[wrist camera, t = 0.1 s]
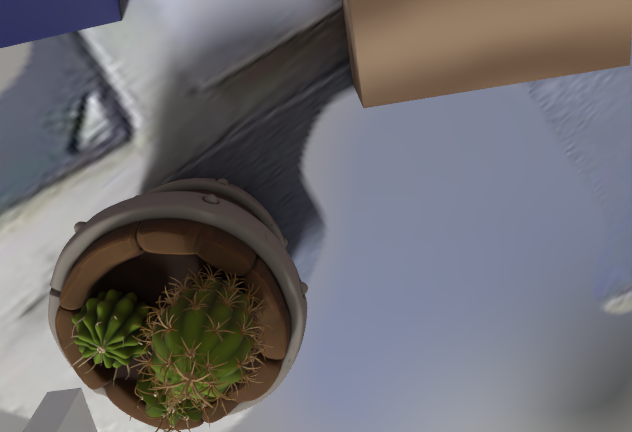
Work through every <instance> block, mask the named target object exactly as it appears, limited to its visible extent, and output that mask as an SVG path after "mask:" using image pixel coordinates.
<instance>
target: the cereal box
mask: <svg viewBox="0 0 632 432" xmlns="http://www.w3.org/2000/svg"><path fill="white" fill-rule="evenodd" d="M121 20H122V17H121V10H120V3H119V0H0V48H3V47H8V46H12V45H17V44H21V43H25V42H30V41H34V40H38V39H43V38H47V37H52V36H56V35H60V34H65V33H69V32H73V31H78V30H82V29H86V28H91V27H95V26H100V25H104V24H108V23H113V22H117V21H121Z"/></svg>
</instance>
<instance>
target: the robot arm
mask: <svg viewBox="0 0 632 432" xmlns="http://www.w3.org/2000/svg"><path fill="white" fill-rule="evenodd" d="M23 432H97V430H96V427H95V424H94V421H93V419H92V416H91V413H90V411H89V408H88V405H87V403H86V400H85V397H84V395H83V392H82V389H81V388H76V389H68V390H60V391H52V392H47V394H46V395H45V397H44V399H43V400H42V402H41V403H40V405H39V407H38V408H37V410H36V411H35V413H34V414H33V416H32V418H31V419H30V421H29V422H28V424H27V426H26V427H25V429H24V430H23Z"/></svg>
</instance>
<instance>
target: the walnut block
mask: <svg viewBox="0 0 632 432" xmlns="http://www.w3.org/2000/svg"><path fill="white" fill-rule="evenodd" d="M342 6H343V14H344V21H345V29H346V36H347V44H348V51H349V59H350V66H351V74H352V81H353V85H354V87H355V90H356V92H357V94H358V96H359V99H360V101H361V103H362V106H363V108H367V107H373V106H379V105H385V104H392V103H398V102H404V101H410V100H416V99H422V98H429V97H435V96H441V95H448V94H454V93H459V92H466V91H472V90H479V89H485V88H491V87H497V86H503V85H510V84H516V83H522V82H528V81H534V80H541V79H547V78H553V77H559V76H565V75H572V74H578V73H584V72H590V71H596V70H603V69H609V68H615V67H621V66H627V65H630V54H631V34H632V0H342Z"/></svg>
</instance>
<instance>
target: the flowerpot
mask: <svg viewBox="0 0 632 432" xmlns="http://www.w3.org/2000/svg"><path fill="white" fill-rule="evenodd" d="M74 229H75V232H76V233H75V234H74V236H73V237H72V238H71V239H70V240H69V241H68V242H67V244H66V245H65V247H64V249H63V250H62V252H61V254H60V256H59V258H58V261H57V263H56V266H55V269H54V272H53V276H52V279H51V282H50V286H51V287H52V288H51V290H50V298H49V311H48V319H49V325H50V329H51V332H52V334H53V336H54V339H55V341H56V343H57V345H58V346H59V348H60V350H61V352H62V354H63V355H64V357H65V358H66V360H67V361H68V362H69V364H70V365H71V366H72V367H73V369H74V370H75V371H76V373H77V374H78V376H79V377H80V378H81V379H82V381H83V382H84V383H85V384H86V385H87V386H88V387H89V388H91V389H92V390H93V391H94V392H95V393H97V394H101V395H104V396H106V397H108V398H109V399H110V400H111V401H112V403H113V404H114V405H116V406H117V407H118V408H119V409H121V410H122V411H124V412H125V413H126V414H128V415H130V416H131V417H133V418H135V419H137V420H139V421H141V422H144V423H146V424H149V425H152V426H154V427H158V429H157V430H156V432H157V431H158V430H159V428H160V429H162V430H163V429H169V430H168V431H166V430H164V432H169V431H170V430H172V431H173V430H176V431H178V432H180V431H179V430H184V429H189V431H190V429H191V428H195V427H198V426H200V425H202V424H203V422H204V421H205V422H207V423H209V427H210V423H213V422H215V421H218V420H219V419H221V418H223V417H225V416H227V415H231V414H234V413H237V412H240V411H242V410H245V409H247V408H249V407H251V406H253V405H255V404H257V403H259V402H260V401H262V400H263V399H265V398H266V397H267V396H268V395H270V394H271V393H272V392H273V391H274V390H275V389H276V388H277V387H278V385H280V383H281V382H282V381H283V379H284V378H285V377H286V375H287V373H288V372H289V370H290V369H291V367H292V365H293V363H294V361H295V359H296V357H297V354H298V352H299V350H300V346H301V343H302V340H303V336H304V331H305V325H306V318H307V302H306V297H305V293H306V292H307V290H308V286H307V285H306V284H305V283H303V282H301V280H300V277H299V274H298V271H297V269H296V267H295V264H294V262H293V261H292V259H291V257H290V255H289V254H288V252H287V251H286V246H287V244H288V240H287V239H286V238H284V237H283V236H282V233H281V231H280V229H279V228H278V226H277V224H276V223H275V221H274V220H273V218H272V217H271V215H270V214H269V213H268V211H267V210H266V209H265V208H264V207H263V206H262V205H261V204H260V203H259V202H258V201H257V200H256V199H255V198H253V197H252V196H251V195H250V194H248V193H247V192H245V191H244V190H242V189H241V188H239V187H237V186H235V185H233V184H230V183H228V181H227V180H226V179H224V178H220V179H218V180H217V179H212V178H188V179H181V180H177V181H173V182H169V183H166V184H163V185H161V186H158V187H155V188H153V189H151V190H149V191H147V192H145V193H143V194H142V195H141V196H140V195H138V196H135V197H133V198H130V199H127V200H125V201H122V202H119V203H117V204H115V205H112V206H110V207H108V208H106V209H104V210H102V211H101V212H99V213H97V214H96V215H95V216H93V217H92V218H91V219H90V220H89V221H88V222H87V223H86V222H78V223H76V224H75V226H74ZM131 417H130V419H131ZM172 431H171V432H172Z"/></svg>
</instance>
